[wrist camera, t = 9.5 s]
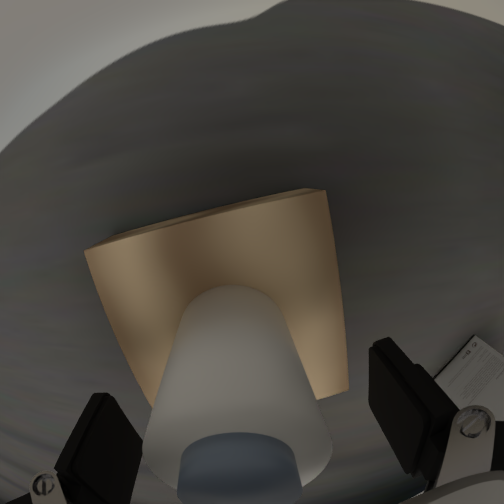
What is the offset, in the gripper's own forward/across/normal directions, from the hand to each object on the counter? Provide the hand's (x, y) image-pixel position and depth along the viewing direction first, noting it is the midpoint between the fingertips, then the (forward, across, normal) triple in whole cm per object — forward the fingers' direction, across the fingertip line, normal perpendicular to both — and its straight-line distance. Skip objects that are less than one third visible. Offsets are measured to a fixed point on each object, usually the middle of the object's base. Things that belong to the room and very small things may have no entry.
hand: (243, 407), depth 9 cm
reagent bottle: (+6, 0, 0) cm, 6 cm away
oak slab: (+10, +1, 0) cm, 10 cm away
